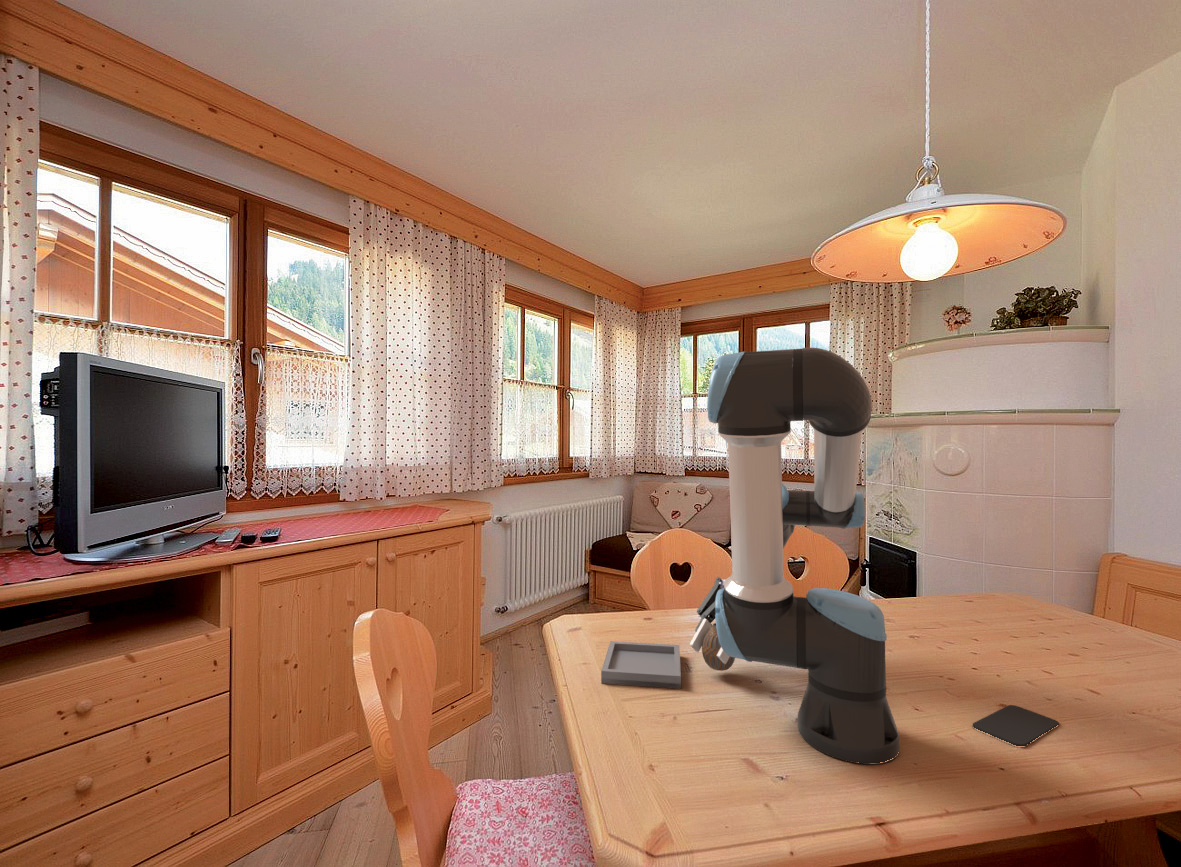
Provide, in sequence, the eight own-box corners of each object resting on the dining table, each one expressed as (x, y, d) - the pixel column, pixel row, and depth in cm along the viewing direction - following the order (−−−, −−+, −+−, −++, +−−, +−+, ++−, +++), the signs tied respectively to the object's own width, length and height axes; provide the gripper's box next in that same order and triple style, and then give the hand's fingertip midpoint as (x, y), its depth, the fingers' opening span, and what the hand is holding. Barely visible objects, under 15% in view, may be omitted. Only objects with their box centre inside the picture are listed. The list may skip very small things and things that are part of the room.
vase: (741, 666, 109) (741, 624, 109) (725, 677, 103) (725, 633, 104) (712, 657, 113) (712, 617, 114) (695, 667, 108) (695, 625, 108)
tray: (680, 688, 103) (680, 676, 103) (601, 683, 105) (601, 671, 105) (679, 656, 118) (679, 645, 119) (610, 651, 121) (610, 641, 121)
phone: (1062, 722, 89) (1022, 746, 82) (1062, 727, 89) (1022, 751, 82) (1010, 703, 96) (969, 724, 88) (1010, 708, 96) (969, 729, 88)
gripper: (801, 583, 110) (755, 680, 100) (728, 566, 126) (681, 649, 116) (787, 561, 107) (737, 659, 97) (713, 547, 123) (664, 630, 113)
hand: (707, 653), depth 106 cm, fingers closed on vase, 7 cm apart
